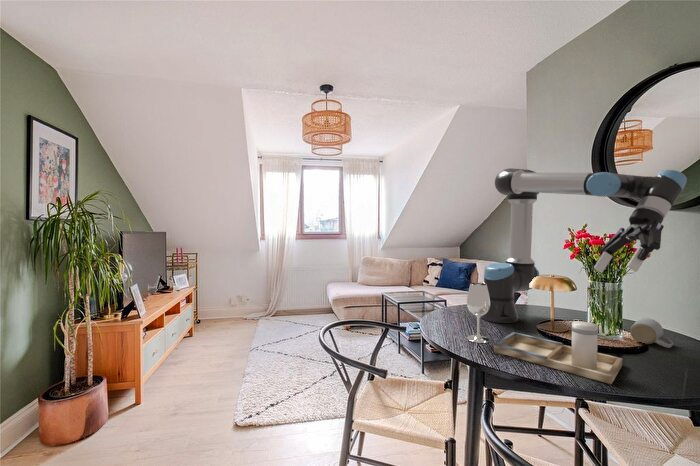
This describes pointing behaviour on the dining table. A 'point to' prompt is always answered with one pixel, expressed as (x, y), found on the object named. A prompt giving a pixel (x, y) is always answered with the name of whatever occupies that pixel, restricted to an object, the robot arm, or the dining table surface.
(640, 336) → the ceramic mug
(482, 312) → the wineglass
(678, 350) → the dining table surface
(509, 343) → the bay tray
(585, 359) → the domed white canister
